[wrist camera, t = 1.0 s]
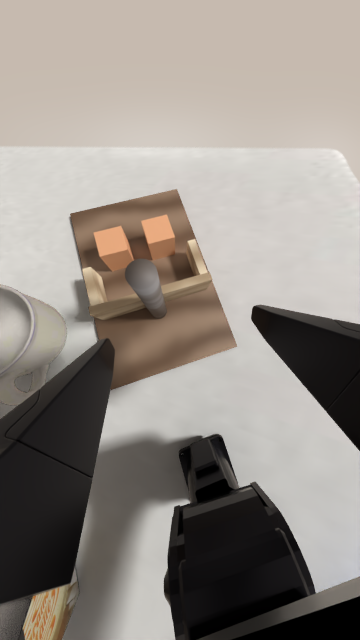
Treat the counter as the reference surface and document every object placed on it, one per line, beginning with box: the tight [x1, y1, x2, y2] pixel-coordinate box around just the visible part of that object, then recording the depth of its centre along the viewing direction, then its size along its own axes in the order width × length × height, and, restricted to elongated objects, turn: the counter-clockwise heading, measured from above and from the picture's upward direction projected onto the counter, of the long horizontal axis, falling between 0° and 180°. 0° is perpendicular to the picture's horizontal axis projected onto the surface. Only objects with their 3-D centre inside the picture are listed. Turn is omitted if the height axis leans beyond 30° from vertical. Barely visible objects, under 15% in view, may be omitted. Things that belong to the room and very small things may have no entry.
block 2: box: [141, 215, 175, 260], centre depth 23 cm, size 4×4×4 cm
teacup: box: [0, 285, 67, 405], centre depth 18 cm, size 14×11×8 cm
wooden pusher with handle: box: [82, 239, 212, 320], centre depth 17 cm, size 10×18×12 cm, turn 108°
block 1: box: [94, 226, 134, 271], centre depth 22 cm, size 4×4×4 cm
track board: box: [70, 189, 237, 390], centre depth 24 cm, size 31×20×1 cm, turn 18°
